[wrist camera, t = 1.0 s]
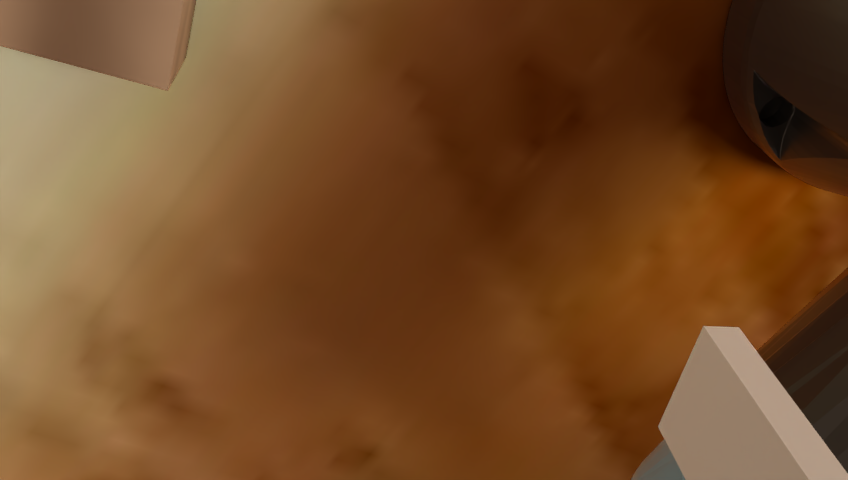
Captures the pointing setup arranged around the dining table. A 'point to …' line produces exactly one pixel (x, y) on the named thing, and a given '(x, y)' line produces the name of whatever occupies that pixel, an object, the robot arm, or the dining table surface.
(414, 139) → the dining table surface
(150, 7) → the walnut block
